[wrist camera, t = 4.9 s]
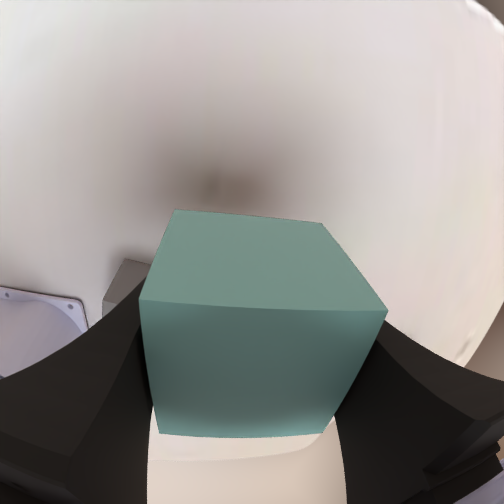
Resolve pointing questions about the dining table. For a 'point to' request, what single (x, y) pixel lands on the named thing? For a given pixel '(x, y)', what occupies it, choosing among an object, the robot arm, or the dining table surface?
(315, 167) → the dining table surface
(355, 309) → the teal block
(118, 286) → the grey block
